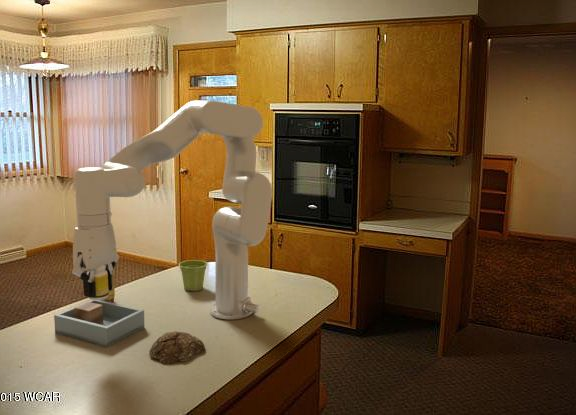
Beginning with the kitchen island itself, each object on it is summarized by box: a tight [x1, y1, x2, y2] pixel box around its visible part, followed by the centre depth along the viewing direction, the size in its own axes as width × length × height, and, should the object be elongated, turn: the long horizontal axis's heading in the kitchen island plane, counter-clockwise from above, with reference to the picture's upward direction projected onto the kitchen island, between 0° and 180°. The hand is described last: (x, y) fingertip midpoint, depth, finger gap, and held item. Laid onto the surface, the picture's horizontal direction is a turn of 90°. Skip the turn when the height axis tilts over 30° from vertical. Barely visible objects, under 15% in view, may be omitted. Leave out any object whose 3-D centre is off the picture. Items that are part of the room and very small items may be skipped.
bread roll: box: [148, 331, 206, 365], centre depth 131 cm, size 13×12×5 cm
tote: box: [53, 299, 145, 348], centre depth 142 cm, size 18×14×5 cm
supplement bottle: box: [87, 265, 109, 300], centre depth 128 cm, size 5×5×8 cm
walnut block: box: [74, 301, 103, 324], centre depth 143 cm, size 5×5×5 cm
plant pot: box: [178, 259, 208, 292], centre depth 177 cm, size 9×9×9 cm
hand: (98, 292), depth 129 cm, fingers closed on supplement bottle, 4 cm apart
